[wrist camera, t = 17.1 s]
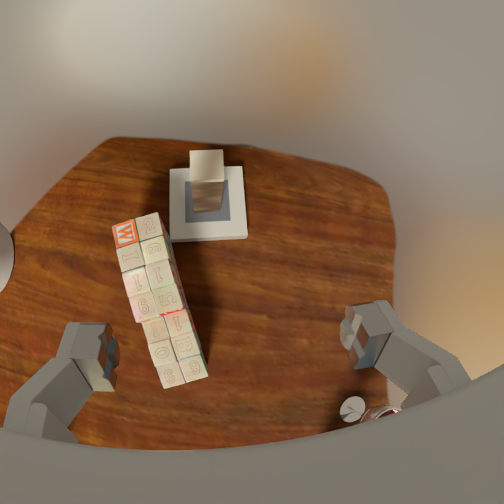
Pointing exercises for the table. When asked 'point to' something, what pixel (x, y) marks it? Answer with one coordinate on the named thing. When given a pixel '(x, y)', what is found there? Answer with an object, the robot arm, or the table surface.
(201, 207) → the brown tall block
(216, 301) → the table surface
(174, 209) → the plate
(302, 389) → the table surface
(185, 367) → the stack of blocks
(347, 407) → the wineglass
